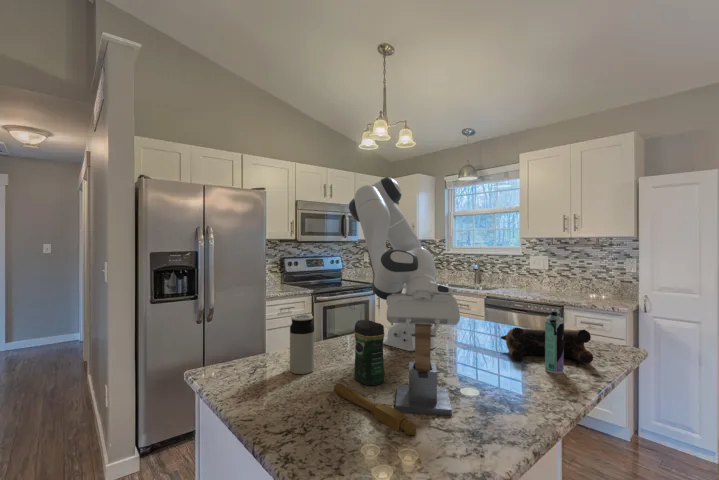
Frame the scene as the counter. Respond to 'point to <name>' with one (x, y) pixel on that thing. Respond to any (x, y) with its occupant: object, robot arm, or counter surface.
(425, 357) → the column
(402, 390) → the stand
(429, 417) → the counter surface
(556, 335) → the spray can
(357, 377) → the coffee jar
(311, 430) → the counter surface
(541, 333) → the stuffed animal
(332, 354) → the counter surface
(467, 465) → the counter surface
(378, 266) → the robot arm
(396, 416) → the tap handle
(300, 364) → the travel mug
